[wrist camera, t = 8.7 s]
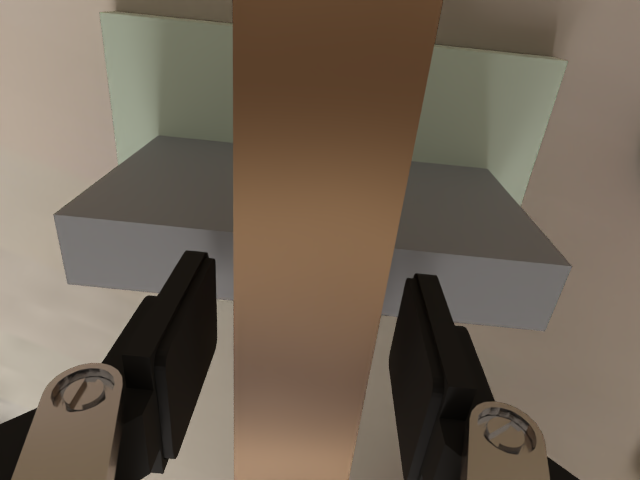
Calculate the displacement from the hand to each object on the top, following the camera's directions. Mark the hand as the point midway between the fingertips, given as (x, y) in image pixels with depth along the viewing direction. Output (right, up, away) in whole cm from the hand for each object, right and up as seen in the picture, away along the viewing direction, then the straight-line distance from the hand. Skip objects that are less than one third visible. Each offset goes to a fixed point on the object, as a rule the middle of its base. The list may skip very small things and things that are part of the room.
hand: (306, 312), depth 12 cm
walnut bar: (0, +1, +2) cm, 2 cm away
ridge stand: (0, +6, +10) cm, 12 cm away
